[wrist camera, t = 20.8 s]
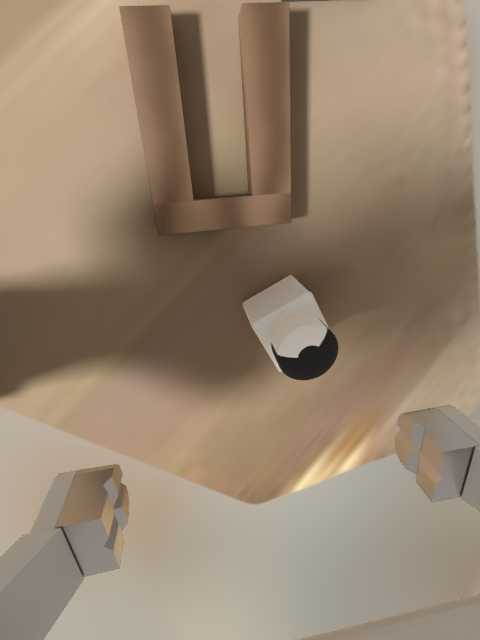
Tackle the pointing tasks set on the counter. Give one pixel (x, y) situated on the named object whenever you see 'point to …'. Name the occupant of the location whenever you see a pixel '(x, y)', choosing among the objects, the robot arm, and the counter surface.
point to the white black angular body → (292, 329)
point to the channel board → (259, 115)
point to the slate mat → (301, 0)
